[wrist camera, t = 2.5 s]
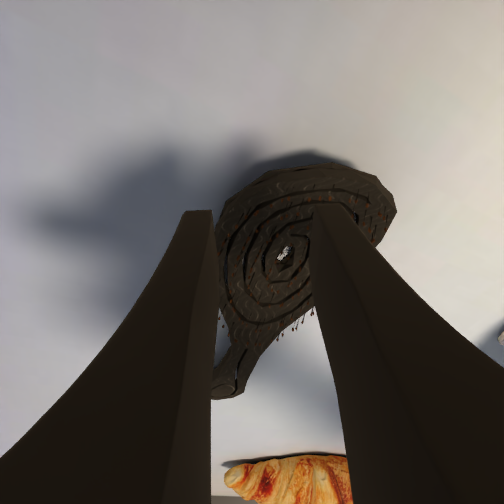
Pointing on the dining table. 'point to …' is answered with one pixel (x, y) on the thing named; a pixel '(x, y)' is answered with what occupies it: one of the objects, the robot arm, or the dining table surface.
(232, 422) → the dining table surface
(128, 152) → the dining table surface
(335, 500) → the croissant
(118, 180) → the dining table surface
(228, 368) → the hairbrush
